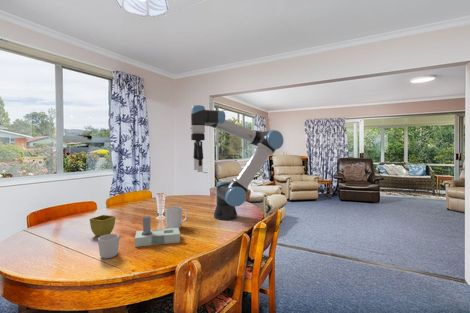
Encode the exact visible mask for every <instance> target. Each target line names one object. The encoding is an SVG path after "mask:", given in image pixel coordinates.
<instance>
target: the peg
mask: <svg viewBox="0 0 470 313" xmlns="http://www.w3.org/2000/svg"><path fill="white" fill-rule="evenodd" d="M151 222H152V220H151V215H143V216H142V231H143V235H151V230H152V226H151Z"/></svg>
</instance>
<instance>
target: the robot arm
mask: <svg viewBox="0 0 470 313" xmlns="http://www.w3.org/2000/svg"><path fill="white" fill-rule="evenodd" d="M190 112H191V113H190V119H191V121H190V122H191V123H190V124H191V127H189V129H190V131H191V135H190V137H191V138H190V139H191V141H194V142H193V156H192V157H193V170H194V171H197V173H203V169H204V168H203V167H204V166H203V164H204V163H203V159H204V150H203V141H205V139H206V138H205V135H206V134H205V133H206V131H205V130H206V129H205V126H206V127H211V128H212V129H216V130H219V131H221V132H224V133H227V134H228V135H232V136H234V137H237V138H240V139H242V140H245V141H247V142H248V144H250V145H253V146H255V147H257V148H256V149H255V150H254V152H253V154H252V156H250V158H249V160H248V161H247V163H246V164H245V165H244V167H243V168H242V170H240V172H239V174H238V175H237V177H236V178H233V179H232V180H230V181H217V182H216V187H215V189H216V191H215V192H216V205H215V208H214V212H213V219H216V220H220V221H229V220H234V219H237V218H238V211H237V209H236V207H239V206H241V205H243V204H245V203H244V202H246V200H247V193H248V192H249V185H250V184H251V182H252V181H253V180H254V178H255V177H256V175H257V174H258V172H259V171H260V170H261V168H262V167H263V165H264V163H265V162H266V160H268V157H270V156H273V155H274V153H275V152H276V150H279V149H280V148H281V147H282V146H283V145H284V136H283V134H282V132H281V131H279V130H277V129H276V130H275V129H271V130H264V131H263V130H262V131H260V130H256V129H249V128H247V127H244V126H242V125H241V124H237V123H235V122H232V121H230V120H227V119H226V113H225V111H224V110H219V109H217V110H214V109H205V106H204V105H200V104H199V105H197V104H194V105H192V106H191V110H190Z"/></svg>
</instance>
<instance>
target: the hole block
mask: <svg viewBox="0 0 470 313" xmlns="http://www.w3.org/2000/svg"><path fill="white" fill-rule="evenodd" d="M180 242H181V232H180V228H168V229H167V228H158V229H157V228H156V229H151V235H143V230H136V231H135V236H134V247H135V248H137V247H147V246H157V245H165V244H167V245H168V244H175V243H180Z"/></svg>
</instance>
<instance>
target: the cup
mask: <svg viewBox="0 0 470 313" xmlns="http://www.w3.org/2000/svg"><path fill="white" fill-rule="evenodd" d="M97 244H98V252H99V256H100V258H101V259H111V258H114V257H115V256H117V255H118V253H119V246H120V235H119V234H118V233H110V234H107V235H103V236H98V238H97Z"/></svg>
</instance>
